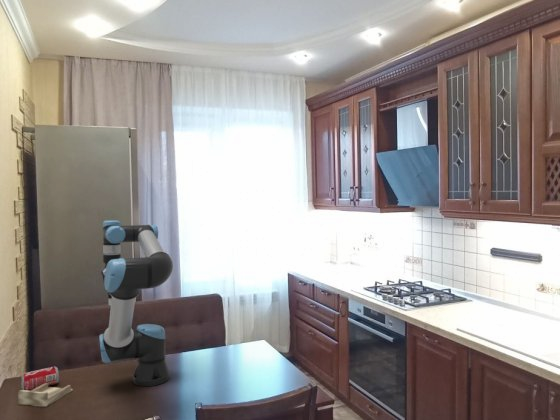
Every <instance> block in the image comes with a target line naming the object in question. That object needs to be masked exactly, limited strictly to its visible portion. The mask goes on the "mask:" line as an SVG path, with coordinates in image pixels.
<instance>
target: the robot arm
mask: <svg viewBox="0 0 560 420" xmlns="http://www.w3.org/2000/svg"><path fill="white" fill-rule="evenodd" d="M158 238H159V229H158V226H157V225H155V224H139V225H138V224H137V225H134V224H133V225H121V221H119V220H104V221H103V223H102V241H103V242H102V246H103V247H102V248H103V249H102V250H103V251H102V253H103V256H102V262H103V263H104V264H105V265H104V269H103V270H101V272H100V273H101V276H102V280H103V285H104V291H106V292H107V296H108V297H107V298H108V306H110V311H109V321H108V327H107V328H106V329H105V330H104V333H101V334H99V336H98V337H99V339H98V340H99V346H100V347H99V348H100V356H101V361H102V362H103V363H105V364H107V363H116V362H121V361H127V360H133V359H137V360H136V361H137V362H136V366H135V369H134V372H133V375H132V382H133V384H135V386H140V387H153V386H155V387H156V386H159V385H161V384H164V383H166V382H168V381H169V380H170V370H169V367H168V364H167V362H166V331H165V328H164V327H163V326H162V325H158V324H153V323H152V324H151V323H145V324H143V323H142V324H138V325H137V326H136V329H133V328H132V326H133V325H132V324H133V318H134V310H135V306H136V305H135V303H136V298H137V297H138V296H139V295H140V294H141V291H142V290H146V289H147V290H148V289H155V288H158V287H160V286H161V285H164V283H166V282H167V280H168V279H169V278H170V276H171V275H172V272H173V267H174V265H173V264H174V263H173V260H172V258H171V257H170V255H169V254H168V253H167V252H165V251H164V249H163V248H162V246H161V244H160V241H158ZM121 243H139V246H140V248H141V250H142V252H143V255H144V257H130V258H129V257H127V258H123V257H121V253H122V251H121V246H122V245H121Z"/></svg>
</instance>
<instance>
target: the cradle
mask: <svg viewBox="0 0 560 420" xmlns="http://www.w3.org/2000/svg"><path fill="white" fill-rule="evenodd" d="M72 391H74V389H73V388H72V385H71V384H67V385H66V386H64V387H55V386H54V387H53V386H48V383H44V384H42V385H40V386H39V387H37V388H35V389H33V390H29V391H27V390H22V389H19V390H18V391H17V393H18V394H17V397H18V401H17V403H18V405H23V406H24V405H25V406H33V407H43V408H47V407H48V406H50V405H51V404H53V403H54V402H56V401H58V400H60V399H61V398H63V397H64V396H66V395H68V394H69V393H71V392H72Z"/></svg>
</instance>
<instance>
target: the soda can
mask: <svg viewBox="0 0 560 420" xmlns="http://www.w3.org/2000/svg"><path fill="white" fill-rule="evenodd" d="M20 377H21V378H20V380H21V381H20V384H21V390H27V391H31V390H33V389H35V388H37V387H39V386H40V385H42V384H44V383H48V387H50V386H52V385H56V384H57V383H59V380H60V374H59V368H58V367H57V366H51V367H45V368H40V369H37V370H31V371H28V372H25V373H23V374H21V376H20Z"/></svg>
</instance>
